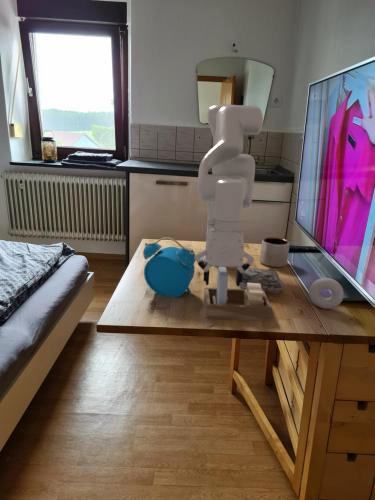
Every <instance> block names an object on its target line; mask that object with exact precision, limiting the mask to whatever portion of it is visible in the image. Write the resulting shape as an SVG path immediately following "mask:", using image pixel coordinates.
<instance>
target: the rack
mask: <svg viewBox="0 0 375 500" xmlns="http://www.w3.org/2000/svg"><path fill="white" fill-rule="evenodd" d="M245 290H247V289H241V288H231V287H230V288H229V287H227V298H226V304H216V294H217V287H204V295H203V296H204V297H203V300H204V301H203V303H204V310H205V311H204V312H205V319H210V320H211V319H212V320H213V319H215V320H236V321H237V320H240V321H242V320H243V321H263V322H265V321H267V322H269V321H271V317H272V311H273V310H272V309H273V307H272V305H271V303H270V301H269V299H268V297H267V295H266V294H267V293H265V292H264V290H262V292H263V297H262V298H263V300H264V306H256V305H244V291H245Z"/></svg>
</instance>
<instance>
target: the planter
mask: <svg viewBox="0 0 375 500" xmlns="http://www.w3.org/2000/svg"><path fill="white" fill-rule="evenodd" d="M290 243H291V242H290V241H289V240H287V239H286V238H282V237H275V236H274V237H273V236H272V237H271V236H270V237H264V238H262V241H261V249H260V256H259V262H260V263H261V264H262V265H263V266H266V267H269V268H277V269H278V268H283V267H285V266H287V265H288V259H289V250H290Z"/></svg>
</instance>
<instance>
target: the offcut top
mask: <svg viewBox="0 0 375 500" xmlns="http://www.w3.org/2000/svg"><path fill="white" fill-rule="evenodd" d="M247 295H248V300H257V301H262V297H263V292H262V288H261V285H260V283H247Z"/></svg>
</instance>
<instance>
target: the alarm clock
mask: <svg viewBox="0 0 375 500" xmlns="http://www.w3.org/2000/svg"><path fill="white" fill-rule="evenodd" d="M162 240H171V241H172V242H174V243H175V244H177V245H178V247H177V246H176V247H175V246H166V247H164V248H162V245H161V244H160V243H159V242H160V241H162ZM195 255H196V254H195V251H194V250H193V249H192V248H190V247H186V246H183V245H182V244H181V243H180V242H178V240H176V239H174V238H172V237H169V236H165V237H161V238H159V239H157V240H156V241H155V242H148V243H147V242H145V243H144V248H143V250H142V256H143V258H144V260H145V261H146V260H148V259H149V260H148V261H147V262H146V264H145V266H144V270H143V275H144V279H145V280H144V281H145V282H146V284H147V285H148V287H149V288H150V289H151V290H152V291H153V293H156V294H158V295H161V296H169V297H171V298H179V297H181V296H183V294H184V293H186V291H187V294H192V291H191V289H190V288H189V287H190V283H191V282H192V280H193V278H194V276H195V263H196V260H195V258H194V256H195Z"/></svg>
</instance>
